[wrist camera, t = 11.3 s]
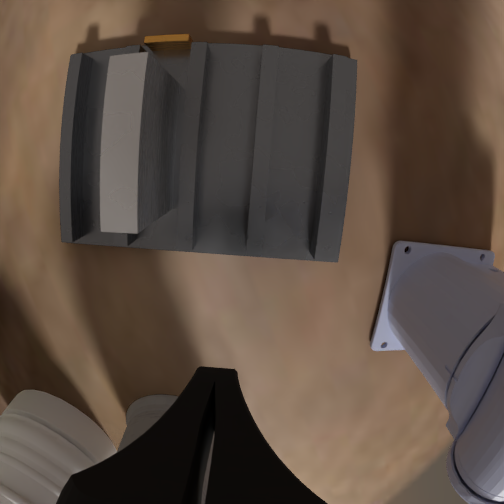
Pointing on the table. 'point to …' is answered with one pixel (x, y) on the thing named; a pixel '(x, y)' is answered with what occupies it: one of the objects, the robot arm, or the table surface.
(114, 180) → the panel
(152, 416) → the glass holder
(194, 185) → the rack
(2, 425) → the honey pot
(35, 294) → the table surface
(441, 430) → the table surface
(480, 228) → the table surface
